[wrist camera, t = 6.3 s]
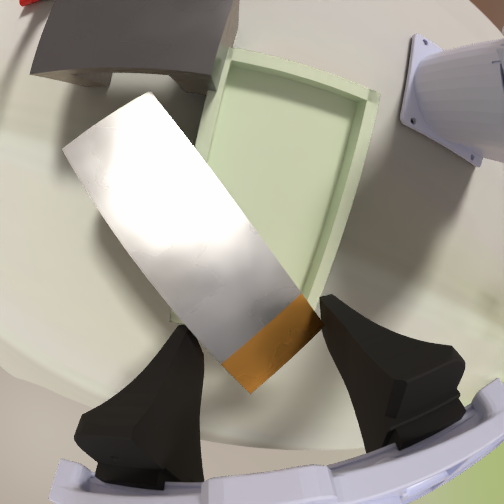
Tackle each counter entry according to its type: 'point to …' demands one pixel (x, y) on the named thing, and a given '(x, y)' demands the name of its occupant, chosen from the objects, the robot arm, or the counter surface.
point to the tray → (288, 156)
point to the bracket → (137, 41)
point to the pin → (192, 240)
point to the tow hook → (26, 2)
